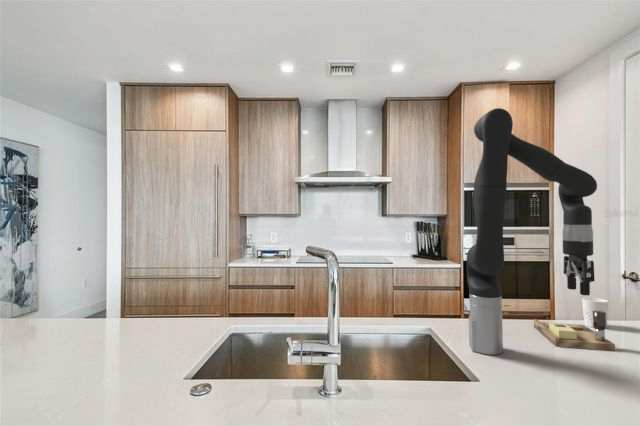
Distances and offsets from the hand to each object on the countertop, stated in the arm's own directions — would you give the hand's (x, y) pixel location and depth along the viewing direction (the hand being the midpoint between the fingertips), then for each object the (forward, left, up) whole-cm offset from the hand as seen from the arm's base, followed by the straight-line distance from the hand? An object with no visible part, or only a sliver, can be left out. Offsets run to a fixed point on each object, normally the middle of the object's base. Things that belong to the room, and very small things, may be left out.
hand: (578, 292), depth 104 cm
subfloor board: (+3, +14, -18) cm, 23 cm away
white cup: (+18, +31, -19) cm, 40 cm away
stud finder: (-1, +10, -16) cm, 19 cm away
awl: (+9, +7, -16) cm, 20 cm away
